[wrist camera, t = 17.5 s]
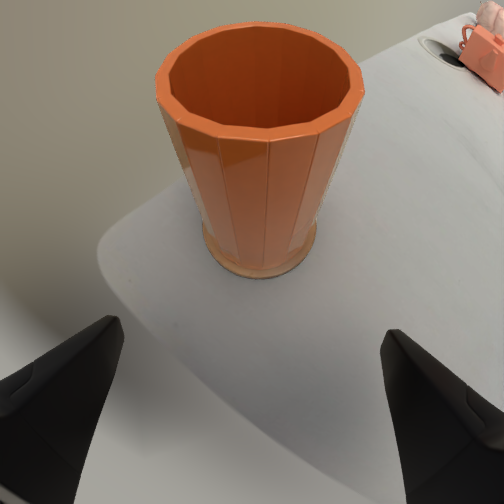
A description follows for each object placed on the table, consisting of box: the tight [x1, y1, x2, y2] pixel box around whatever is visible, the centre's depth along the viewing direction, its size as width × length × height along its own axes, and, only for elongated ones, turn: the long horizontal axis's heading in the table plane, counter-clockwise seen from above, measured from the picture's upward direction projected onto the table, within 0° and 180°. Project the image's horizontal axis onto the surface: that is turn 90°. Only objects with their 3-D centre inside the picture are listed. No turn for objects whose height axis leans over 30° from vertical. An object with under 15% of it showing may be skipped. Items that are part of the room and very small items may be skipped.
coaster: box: [202, 220, 316, 279], centre depth 21 cm, size 8×8×1 cm
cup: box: [155, 21, 365, 270], centre depth 15 cm, size 7×7×13 cm
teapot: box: [459, 24, 504, 93], centre depth 25 cm, size 12×15×8 cm
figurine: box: [476, 1, 504, 39], centre depth 31 cm, size 11×12×18 cm
